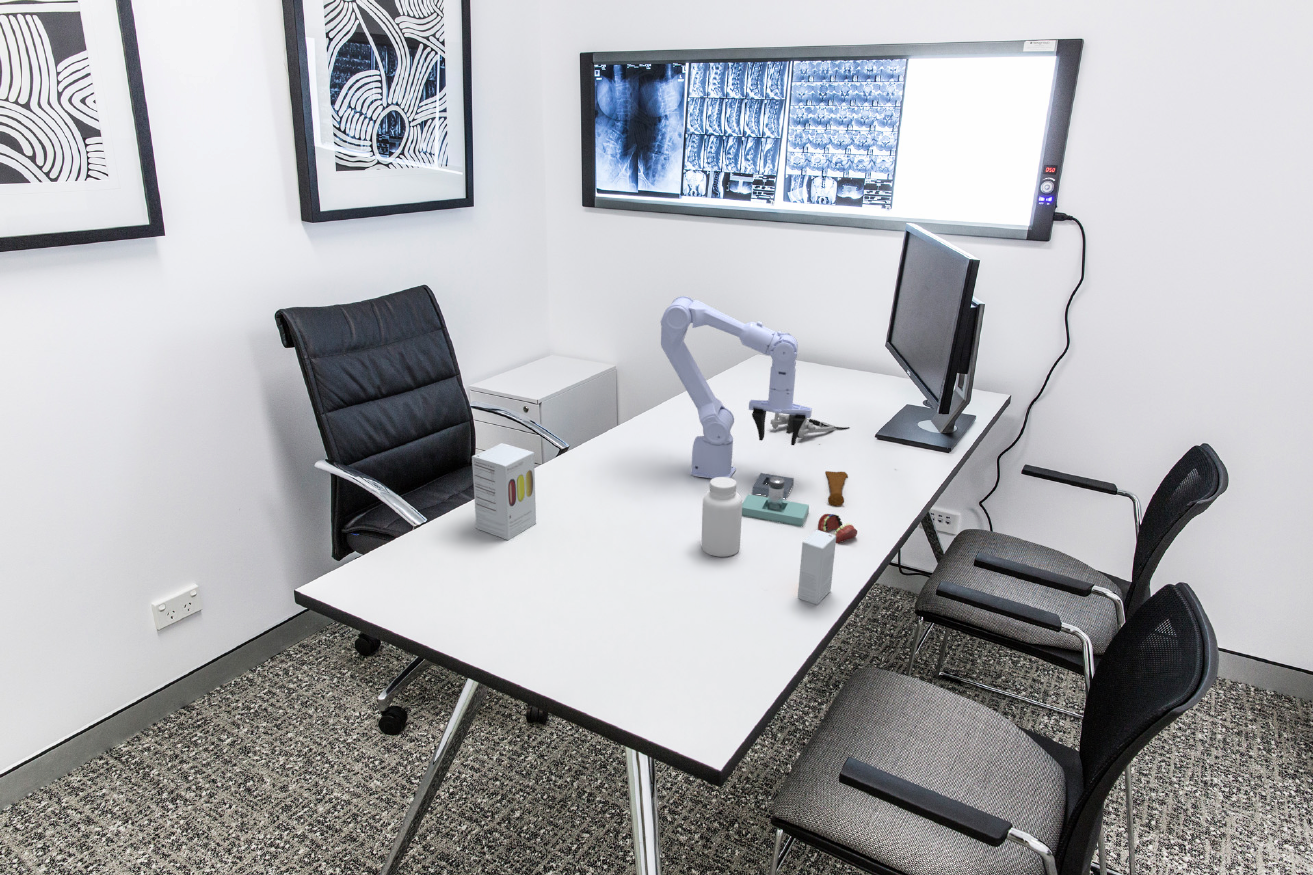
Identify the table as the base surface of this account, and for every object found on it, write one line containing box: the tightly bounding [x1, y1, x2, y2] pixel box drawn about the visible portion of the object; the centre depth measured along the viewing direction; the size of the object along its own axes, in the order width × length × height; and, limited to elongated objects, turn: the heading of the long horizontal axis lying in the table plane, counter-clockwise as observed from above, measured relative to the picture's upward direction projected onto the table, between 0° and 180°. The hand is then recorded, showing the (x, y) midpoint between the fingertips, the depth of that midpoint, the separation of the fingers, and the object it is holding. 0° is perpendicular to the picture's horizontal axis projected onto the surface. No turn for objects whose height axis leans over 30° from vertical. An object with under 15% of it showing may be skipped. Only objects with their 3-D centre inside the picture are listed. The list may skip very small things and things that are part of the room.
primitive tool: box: [825, 470, 849, 507], centre depth 200 cm, size 19×6×4 cm, turn 171°
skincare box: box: [797, 529, 837, 605], centre depth 156 cm, size 6×4×12 cm
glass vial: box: [767, 477, 785, 512], centre depth 187 cm, size 3×3×8 cm
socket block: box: [751, 472, 795, 500], centre depth 199 cm, size 8×8×2 cm
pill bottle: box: [701, 477, 743, 558], centre depth 171 cm, size 8×8×15 cm
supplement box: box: [471, 442, 537, 541], centre depth 177 cm, size 10×9×17 cm
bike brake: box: [770, 413, 851, 440], centre depth 235 cm, size 14×7×20 cm
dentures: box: [817, 513, 858, 544], centre depth 179 cm, size 6×4×8 cm
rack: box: [742, 493, 810, 527], centre depth 188 cm, size 14×7×2 cm, turn 70°
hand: (777, 441), depth 201 cm, fingers open, 7 cm apart
